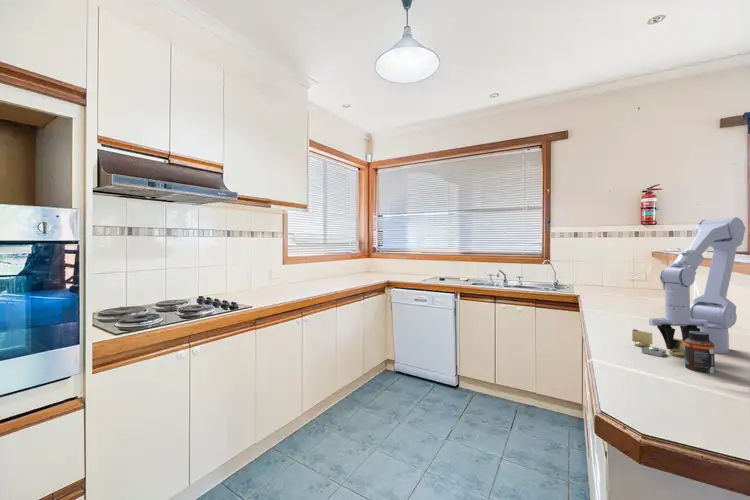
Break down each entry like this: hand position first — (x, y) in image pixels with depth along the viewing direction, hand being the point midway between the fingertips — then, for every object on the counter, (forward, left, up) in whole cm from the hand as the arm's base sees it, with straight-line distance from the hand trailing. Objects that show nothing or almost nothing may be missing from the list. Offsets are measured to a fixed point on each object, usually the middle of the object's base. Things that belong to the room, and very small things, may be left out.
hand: (678, 349), depth 104 cm
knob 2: (0, 0, -2) cm, 2 cm away
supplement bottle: (+11, +7, -3) cm, 13 cm away
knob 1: (-3, -10, -2) cm, 11 cm away
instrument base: (+1, -5, -3) cm, 6 cm away
